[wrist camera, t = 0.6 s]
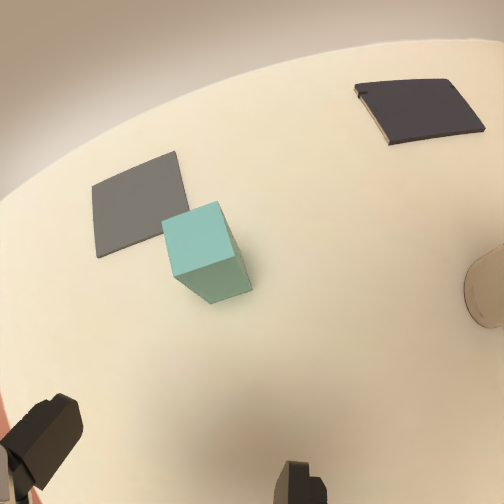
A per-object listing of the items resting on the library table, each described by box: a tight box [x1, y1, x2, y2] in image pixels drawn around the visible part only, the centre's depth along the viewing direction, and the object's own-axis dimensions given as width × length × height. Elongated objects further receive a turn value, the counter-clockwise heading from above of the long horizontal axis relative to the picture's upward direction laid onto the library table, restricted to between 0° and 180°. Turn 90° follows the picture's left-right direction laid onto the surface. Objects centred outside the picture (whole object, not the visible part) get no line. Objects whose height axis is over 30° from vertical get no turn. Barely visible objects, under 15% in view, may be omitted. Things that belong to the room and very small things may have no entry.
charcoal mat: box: [92, 151, 189, 258], centre depth 40 cm, size 14×12×1 cm
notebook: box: [355, 79, 486, 145], centre depth 41 cm, size 13×2×21 cm
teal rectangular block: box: [161, 201, 252, 304], centre depth 30 cm, size 5×5×12 cm
